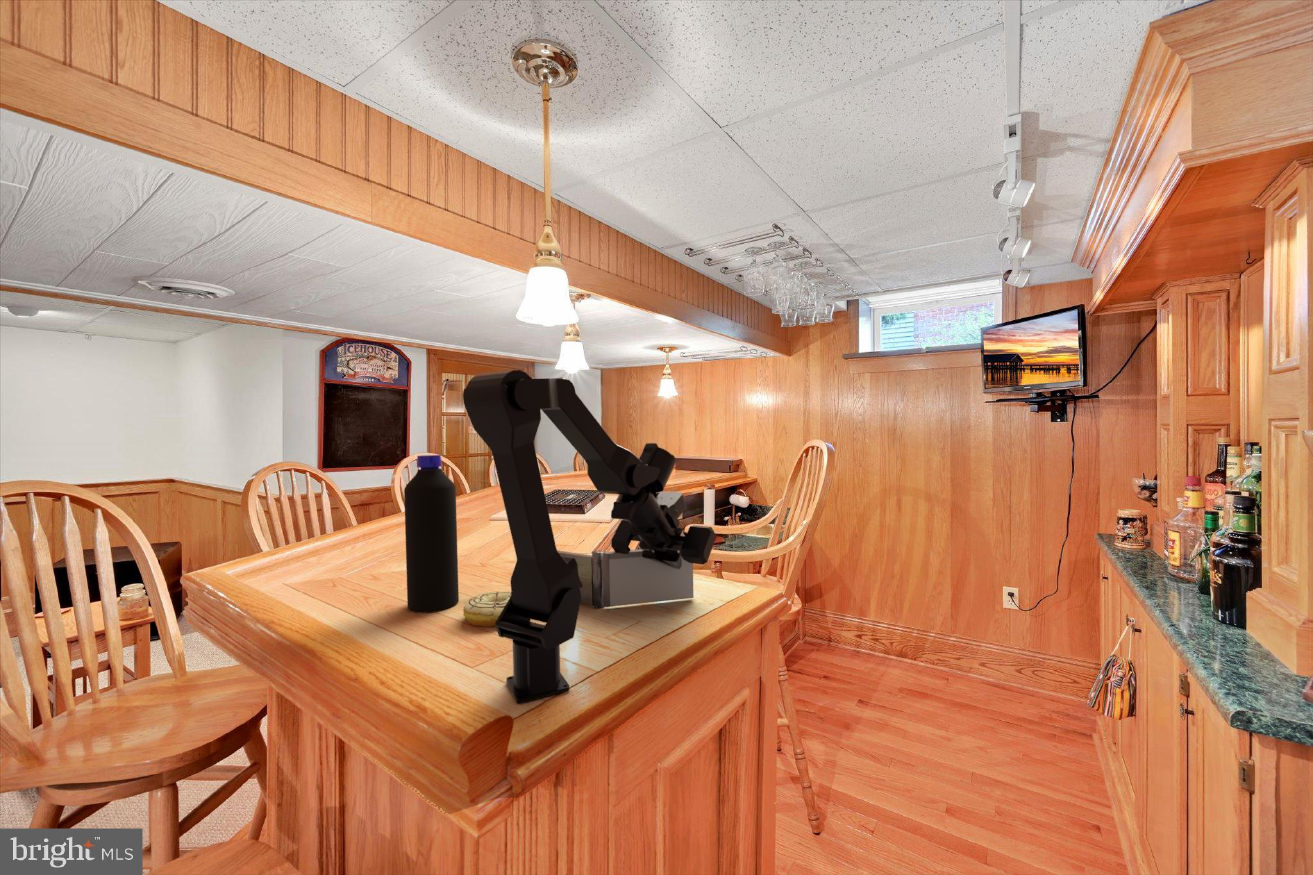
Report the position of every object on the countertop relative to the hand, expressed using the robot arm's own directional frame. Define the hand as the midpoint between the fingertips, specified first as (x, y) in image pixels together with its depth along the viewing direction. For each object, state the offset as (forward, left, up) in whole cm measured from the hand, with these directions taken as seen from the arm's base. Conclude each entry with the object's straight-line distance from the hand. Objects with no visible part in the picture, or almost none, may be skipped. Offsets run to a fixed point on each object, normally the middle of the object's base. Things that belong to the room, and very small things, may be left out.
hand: (679, 566), depth 95 cm
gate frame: (+11, +17, -7) cm, 21 cm away
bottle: (+23, +40, -7) cm, 47 cm away
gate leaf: (+3, +5, -6) cm, 8 cm away
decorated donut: (+10, +31, -7) cm, 33 cm away
